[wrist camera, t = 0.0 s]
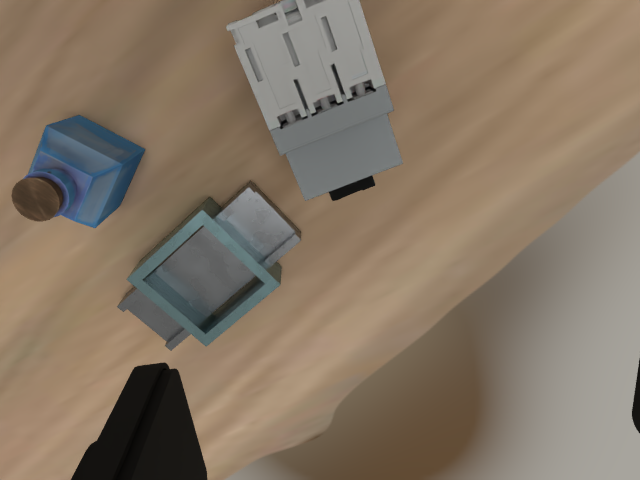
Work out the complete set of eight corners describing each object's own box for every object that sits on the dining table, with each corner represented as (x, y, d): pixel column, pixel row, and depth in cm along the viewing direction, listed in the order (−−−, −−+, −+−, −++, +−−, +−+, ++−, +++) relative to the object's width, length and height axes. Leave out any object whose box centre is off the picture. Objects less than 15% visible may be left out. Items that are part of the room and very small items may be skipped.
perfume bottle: (55, 174, 45) (-23, 216, 34) (79, 115, 43) (4, 138, 32) (119, 205, 46) (64, 255, 35) (145, 149, 45) (95, 183, 33)
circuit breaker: (309, 182, 46) (315, 240, 32) (248, 30, 41) (223, 21, 27) (384, 153, 46) (422, 200, 32) (330, -5, 41) (349, -32, 27)
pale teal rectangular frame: (113, 286, 49) (98, 305, 46) (239, 169, 46) (234, 179, 42) (186, 347, 52) (178, 369, 49) (310, 242, 49) (312, 258, 45)
